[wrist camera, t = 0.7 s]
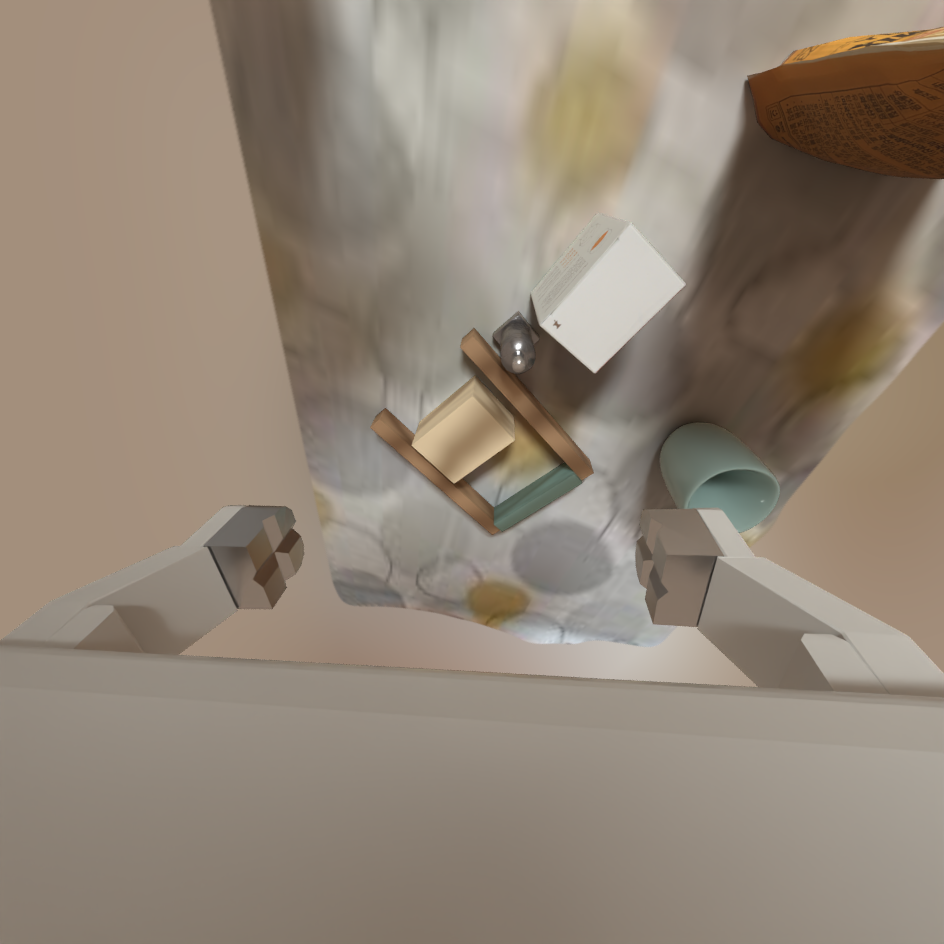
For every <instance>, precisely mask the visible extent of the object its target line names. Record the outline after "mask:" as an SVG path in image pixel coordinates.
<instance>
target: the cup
mask: <svg viewBox="0 0 944 944" xmlns="http://www.w3.org/2000/svg"><path fill="white" fill-rule="evenodd" d="M660 470H661V473H662V477H663V480H664V482H665V485H666V487H667V489H668V492H669V494H670V496H671V498H672V500H673V501H674V503H675V505H676V507H677V509H692V508H719V509H721V510H723V512H724V513H725V514H726V516H727V517H728V519H729V520H730V521H731V523H732V524H733V526H734V527H735V529H736V530H737V531H738V533H742V532H744V531H746V530H749V529H751V528H753V527H754V526H756V525H757V524H759V523H760V522H761V521H762V520H764V519H765V518H766V517H767V516H768V515H769V514H770V513H771V511H772V510H773V508H774V507H775V505H776V503H777V501H778V499H779V494H780V486H779V483H778V481H777V479H776V477H775V476H774V474H773V473H772V472H771V471H770V469H769V468H768V467H767V466H766V465H765V464H764V463H763V462H762V461H761V460H760V458H759V457H758V456H757V455H756V454H755V453H754V452H753V451H752V450H751V449H750V448H749V447H748V446H747V445H746V444H745V443H744V442H742V441H741V440H740V439H739V438H738V437H737V436H735V435H734V434H733V433H731V432H730V431H728V430H726V429H724V428H722V427H720V426H717V425H714V424H711V423H704V422H696V423H689V424H686V425H683V426H681V427H679V428H678V429H676V430H675V431H674V432H673V433H671V435H670V436H669V437H668V438H667V439H666V441H665V442H664V445H663V447H662V449H661V452H660Z"/></svg>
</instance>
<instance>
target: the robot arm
mask: <svg viewBox="0 0 944 944" xmlns="http://www.w3.org/2000/svg"><path fill="white" fill-rule="evenodd" d="M295 522H296V520H295V518H294V515H293V512H292V510H291V509H289V508H287V507H285V506H251V505H249V506H246V505H230V506H225V507H222V508H221V509H220V510H219V511H218V512H217V513H216V514H215V515H214V516H213V517H211V518H210V519H209V520H208V521H207V522H206V523H205V524H204V525H203V526H202V527H200V528H199V529H198V530H197V531H196V532H195V533H194V534H193V535H192V536H191V537H190V538H188V539H187V540H186V541H185V542H184V543H183V544H182V545H181V546H173V547H171V548H168V549H166V550H164V551H162V552H160V553H157V554H155V555H153V556H151V557H148V558H146V559H144V560H142V561H139V562H137V563H135V564H133V565H131V566H128V567H126V568H124V569H122V570H119V571H117V572H115V573H113V574H110V575H109V576H106V577H104V578H101V579H99V580H97V581H95V582H92V583H90V584H88V585H86V586H84V587H81V588H79V589H77V590H75V591H72V592H70V593H68V594H66V595H64V596H61V597H59V598H57V599H54V600H52V601H50V602H49V603H48V604H46V605H45V606H44V607H43V608H41V609H40V610H39V611H37V612H36V613H35V614H33V615H32V616H31V617H30V618H28V619H27V620H26V621H25V622H23V623H22V624H21V625H19V627H17V628H16V629H14V630H13V631H12V632H11V633H9V634H8V635H7V636H5V637H4V638H3V639H2V640H0V944H944V673H942V671H940V669H939V668H938V667H937V666H936V665H935V664H934V663H933V662H932V661H931V660H930V658H929V657H928V656H927V655H926V654H925V653H924V652H923V651H922V650H921V649H920V648H919V647H918V645H916V643H915V642H914V641H913V640H912V639H911V638H910V637H909V636H908V635H905V634H904V633H902V632H900V631H898V630H897V629H895V628H893V627H891V626H889V625H887V624H885V623H884V622H882V621H880V620H878V619H876V618H874V617H873V616H871V615H869V614H867V613H865V612H863V611H861V610H860V609H858V608H856V607H854V606H852V605H851V604H849V603H847V602H845V601H843V600H841V599H839V598H838V597H836V596H834V595H832V594H830V593H828V592H826V591H825V590H823V589H821V588H819V587H817V586H816V585H814V584H812V583H810V582H808V581H806V580H805V579H803V578H801V577H799V576H797V575H795V574H794V573H792V572H790V571H788V570H786V569H784V568H783V567H781V566H779V565H777V564H775V563H773V562H772V561H770V560H768V559H766V558H763V557H755V555H754V554H753V552H752V551H751V550H750V548H749V547H748V545H747V544H746V543H745V541H744V540H743V538H742V537H741V536H740V534H739V533H738V531H737V530H736V529H735V527H734V526H733V524H732V523H731V521H730V520H729V519H728V517H727V516H726V514H725V513H724V512H723V510H721V509H719V508H692V509H643V511H642V514H641V518H640V524H639V525H640V528H641V531H642V533H643V536H642V537H641V538H640V539H639V540H638V541H637V544H636V552H635V559H636V570H637V576H638V579H639V582H640V584H641V585H642V586H644V587H645V588H646V589H647V590H646V596H645V601H646V604H647V607H648V610H649V613H650V616H651V619H652V622H653V624H658V625H674V626H689V627H698V628H697V629H698V630H699V631H700V632H701V633H702V634H703V635H704V636H705V637H706V638H707V639H709V640H710V641H711V642H712V643H713V644H714V645H715V646H716V647H717V648H718V649H719V650H720V651H721V652H722V653H723V654H725V656H726V657H727V658H728V659H729V660H731V661H732V662H733V663H734V664H735V665H736V666H737V667H738V668H739V669H740V670H741V671H742V672H743V673H744V674H745V675H746V676H747V677H748V678H749V679H751V680H752V681H753V682H754V683H755V684H756V685H757V686H758V687H745V686H727V685H709V684H708V685H707V684H691V683H671V682H652V681H634V680H633V681H632V680H615V679H597V678H580V677H562V676H546V675H528V674H510V673H493V672H476V671H459V670H440V669H423V668H404V667H385V666H368V665H350V664H349V665H348V664H331V663H312V662H294V661H277V660H259V659H241V658H223V657H204V656H186V655H179V654H180V653H181V652H183V651H184V650H185V649H187V648H188V647H189V646H191V645H192V644H194V643H195V642H196V641H197V640H199V639H200V638H202V637H203V636H204V635H206V634H207V633H208V632H210V631H211V630H212V629H214V628H215V627H216V626H218V625H219V624H220V623H221V622H223V621H224V620H226V619H227V618H228V617H230V616H231V615H232V614H234V613H235V612H236V611H237V609H273V607H274V606H275V604H276V603H277V601H278V600H279V598H280V597H281V595H282V594H283V592H284V591H285V589H286V588H287V587H286V583H285V580H287V579H289V578H290V577H292V576H293V575H295V574H296V573H297V571H298V570H299V568H300V566H301V564H302V560H303V556H304V545H303V541H302V538H301V536H300V535H299V534H298V533H297V532H296V531H294V529H292V528H293V526H294V524H295Z"/></svg>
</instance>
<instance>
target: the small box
mask: <svg viewBox="0 0 944 944" xmlns="http://www.w3.org/2000/svg"><path fill="white" fill-rule="evenodd" d="M685 286H686V283H685V282H684V281H683V279H682V278H681V277H680V276H679V275H678V274H677V273H676V272H675V270H674V269H673V268H672V267H671V266H670V265H669V264H668V262H667V261H666V260H665V259H664V258H663V257H662V256H661V255H660V253H659V252H658V251H657V250H656V249H655V248H654V247H653V246H652V245H651V243H650V242H649V241H648V240H647V239H646V238H645V237H644V236H643V235H642V233H641V232H640V231H639V230H638V229H637V228H636V227H635V226H634V225H633V223H631V222H628V221H625V220H622V219H618V218H615V217H612V216H608V215H605V214H601V213H597V214H596V215H595V216H594V217H593V219H592V220H591V221H590V222H589V223H588V225H587V226H586V227H585V228H584V229H583V231H582V232H581V233H580V234H579V235H578V237H577V238H576V239H575V240H574V241H573V243H572V244H571V245H570V246H569V248H568V249H567V250H566V251H565V252H564V254H563V255H562V256H561V257H560V258H559V260H558V261H557V262H556V263H555V264H554V266H553V267H552V268H551V269H550V270H549V272H548V273H547V274H546V275H545V276H544V278H543V279H542V280H541V281H540V282H539V284H538V285H537V286H536V287H535V288H534V290H533V291H532V292H531V298H532V301H533V305H534V308H535V312H536V316H537V319H538V323H539V326H540V327H541V328H543V329H544V330H545V331H546V332H547V333H548V334H549V335H551V336H552V337H553V338H554V339H555V340H556V341H557V342H559V343H560V344H561V345H562V346H563V347H564V348H565V349H567V350H568V351H569V352H570V353H571V354H572V355H573V356H575V357H576V358H577V359H578V360H579V361H580V362H581V363H582V364H584V365H585V366H586V367H587V368H588V369H589V370H590V371H592V372H593V373H597V372H598V371H599V370H600V369H601V368H602V367H603V366H604V365H605V364H606V363H607V362H608V361H609V360H610V359H611V358H612V357H613V356H614V355H615V354H616V353H617V352H618V351H619V350H620V349H621V348H622V347H623V346H624V345H625V344H626V343H627V342H628V341H629V340H630V339H631V338H632V337H633V336H634V335H635V334H637V333H638V332H639V331H640V330H641V329H642V328H643V327H644V326H645V325H646V324H647V323H648V322H649V321H650V320H651V319H652V318H653V317H654V316H655V315H656V314H657V313H658V312H659V311H660V310H661V309H662V308H663V307H664V306H665V305H666V304H667V303H668V302H669V301H670V300H671V299H672V298H674V297H675V296H676V295H677V294H678V293H679V292H680V291H681V290H682V289H683V288H684V287H685Z"/></svg>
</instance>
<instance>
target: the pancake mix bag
mask: <svg viewBox="0 0 944 944" xmlns="http://www.w3.org/2000/svg"><path fill="white" fill-rule="evenodd" d="M747 77H748V81H749V85H750V88H751V92H752V96H753V101H754V107H755V112H756V118H757V122H758V123H759V125H760V126H761V127H762V128H763V129H764V131H765V132H766V133H767V134H768V135H769V136H770V138H772V139H774V140H776V141H779V142H781V143H783V144H786V145H788V146H790V147H793V148H795V149H797V150H800V151H802V152H805V153H807V154H810V155H812V156H815V157H817V158H820V159H822V160H825V161H828V162H833V163H837V164H841V165H845V166H849V167H853V168H857V169H861V170H865V171H869V172H874V173H878V174H883V175H890V176H897V177H910V178H929V179H944V27H940V28H936V29H931V30H922V31H912V32H901V33H890V34H879V35H868V36H857V37H849V38H845V39H841V40H837V41H833V42H829V43H825V44H821V45H817V46H813V47H809V48H805V49H801V50H796V51H793V52H792V53H791V54H790V55H789V57H788V58H787V59H786V60H785V61H784V62H783V63H782V64H781V65H780V66H779V67H777V68H774V69H771V70H768V71H765V72H762V73H758V74H753V75H749V76H747Z"/></svg>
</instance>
